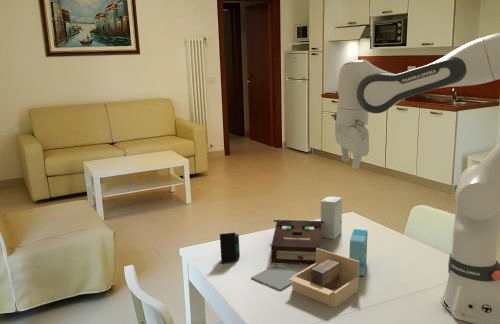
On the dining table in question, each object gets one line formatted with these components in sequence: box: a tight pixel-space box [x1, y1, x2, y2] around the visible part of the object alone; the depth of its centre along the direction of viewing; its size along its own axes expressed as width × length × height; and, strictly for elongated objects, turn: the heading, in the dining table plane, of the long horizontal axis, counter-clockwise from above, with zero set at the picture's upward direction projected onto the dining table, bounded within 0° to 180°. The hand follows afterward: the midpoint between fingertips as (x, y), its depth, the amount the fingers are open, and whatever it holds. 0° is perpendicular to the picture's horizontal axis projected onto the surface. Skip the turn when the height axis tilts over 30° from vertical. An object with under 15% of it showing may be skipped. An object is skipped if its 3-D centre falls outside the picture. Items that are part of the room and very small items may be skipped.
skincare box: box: [320, 195, 343, 240], centre depth 179 cm, size 8×6×15 cm
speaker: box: [219, 232, 241, 265], centre depth 161 cm, size 8×6×10 cm
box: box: [310, 259, 340, 291], centre depth 138 cm, size 4×9×8 cm, turn 137°
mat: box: [250, 264, 298, 292], centre depth 147 cm, size 12×12×1 cm
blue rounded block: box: [348, 228, 368, 277], centre depth 151 cm, size 12×4×12 cm, turn 162°
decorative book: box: [270, 219, 324, 266], centre depth 168 cm, size 19×8×30 cm
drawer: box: [289, 248, 360, 308], centre depth 137 cm, size 15×15×10 cm
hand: (350, 164), depth 136 cm, fingers open, 8 cm apart
